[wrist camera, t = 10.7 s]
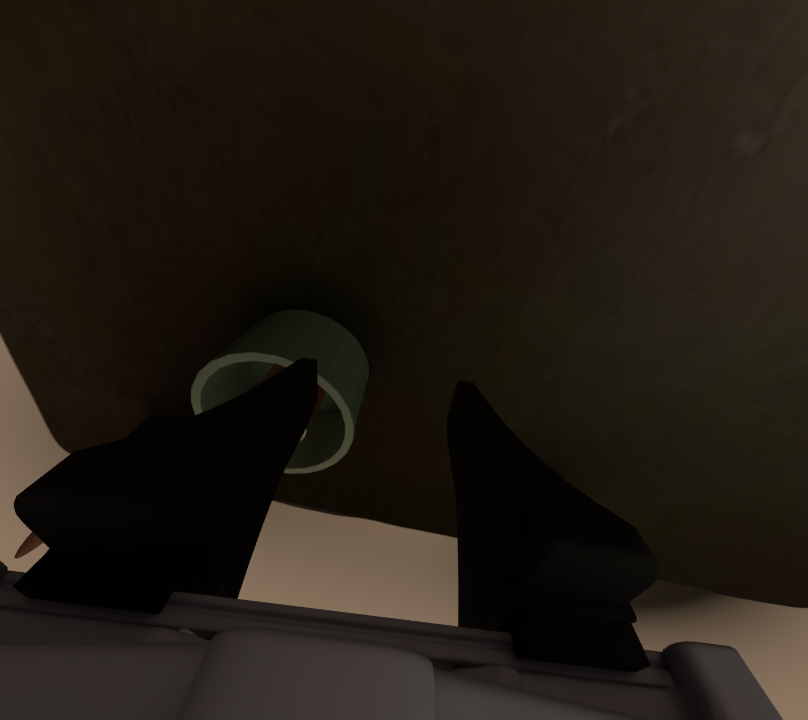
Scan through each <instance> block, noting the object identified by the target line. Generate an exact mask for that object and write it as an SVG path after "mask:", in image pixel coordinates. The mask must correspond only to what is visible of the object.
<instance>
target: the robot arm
mask: <svg viewBox="0 0 808 720" xmlns="http://www.w3.org/2000/svg"><path fill="white" fill-rule="evenodd" d="M317 401H318V376H317V360H315V359H309V358H300V359H299V360H297V361H296V362H294V363H292V364H291V365H289V366H288V367H286V368H285V369H283V370H282V371H280V372H278V373H277V374H275V375H274V376H272V377H270V378H269V379H267V380H266V381H264V382H262V383H261V384H259V385H257V386H255V387H253V388H252V389H250V390H248V391H246V392H244V393H243V394H241V395H239V396H237V397H235V398H233V399H231V400H229V401H227V402H225V403H223V404H220V405H218V406H216V407H214V408H212V409H209V410H207V411H205V412H202V413H199V414H197V415H194V416H192V417H189V418H186V419H184V420H181V421H179V422H176V423H173V424H170V425H167V426H164V427H161V428H158V429H155V430H152V431H149V432H145V433H142V434H139V435H136V436H132V437H129V438H125V439H121V440H117V441H113V442H110V443H106V444H102V445H98V446H94V447H90V448H86V449H82V450H78V451H74V452H73V453H72V454H70V455H69V456H68V457H66V458H65V459H64V460H63V461H61V462H60V463H59V464H58V465H56V466H55V467H53V468H52V469H51V470H50V471H48V472H47V473H46V474H44V475H43V476H42V477H40V478H39V479H38V480H37V481H35V482H34V483H33V484H31V485H30V486H29V487H27V488H26V489H25V490H24V491H22V492H21V493H20V494H19V495H17V496H16V499H15V501H14V509H15V512H16V514H17V516H18V517H19V518H20V519H21V521H22V522H23V523H24V524H25V525H26V526H27V527H28V528H29V529H30V530H31V531H32V532H33V533H34V534H35V535H36V536H37V537H38V538H39V539H40V540H41V541H42V542H44V543H45V544H46V545H47V546H48V547H49V548H50V550H49V551H48V552H47V553H46V554H45V555H44V556H43V557H42V558H41V559H40V560H39V561H38V562H37V563H35V565H33V567H31V568H30V570H28V572H26V573H24V572H17V571H8V570H7V566H5V565H4V563H2V562H1V561H0V720H783V719H782V717H781V716H780V714H779V713H778V711H777V710H776V708H775V707H774V706H773V704H772V703H771V701H770V700H769V698H768V697H767V695H766V694H765V692H764V691H763V689H762V688H761V686H760V685H759V683H758V682H757V680H756V679H755V677H754V676H753V674H752V673H751V671H750V670H749V668H748V667H747V665H746V664H745V662H744V661H743V659H742V658H741V656H740V655H739V653H738V652H737V650H736V649H734V648H732V647H730V646H723V645H716V644H708V643H700V642H686V641H685V642H677V643H674V644H672V645H669V646H668V647H666V648H665V649H663V651H662V652H658V651H650V650H644V649H643V647H642V645H641V643H640V641H639V638H638V636H637V634H636V632H635V630H634V628H633V626H632V624H631V623H634V622H636V621H637V619H636V618H637V617H636V615H635V613H634V611H633V609H632V607H631V605H630V603H629V602H630V601H631V600H633V599H634V598H635V597H637V596H638V595H639V594H641V593H642V592H644V591H645V590H646V589H648V588H649V587H650V586H651V585H652V584H653V583H654V582H655V581H656V580H657V578H658V575H659V572H660V569H659V564H658V563H657V561H656V559H655V558H654V556H653V555H652V553H651V551H650V550H649V548H648V546H647V545H646V543H645V542H644V540H643V538H642V537H641V535H640V534H639V532H638V530H637V529H636V527H634V526H633V525H631V524H629V523H628V522H626V521H625V520H623V519H622V518H620V517H618V516H617V515H615V514H614V513H612V512H611V511H609V510H607V509H606V508H604V507H603V506H601V505H600V504H598V503H597V502H595V501H594V500H592V499H591V498H589V497H588V496H587V495H585V494H584V493H582V492H581V491H580V490H578V489H577V488H575V487H574V486H573V485H571V484H570V483H569V482H568V481H567V480H566V479H563V478H562V477H561V476H560V475H559V474H557V473H556V472H555V471H554V470H552V469H551V468H550V467H549V466H548V465H546V464H545V463H544V462H543V461H542V460H541V459H539V458H538V457H537V456H536V455H535V454H534V453H533V452H532V451H531V450H530V449H529V448H528V447H527V446H526V445H525V444H524V443H523V442H522V441H521V440H520V439H519V438H518V437H517V436H516V435H515V434H514V433H513V432H512V431H511V430H510V429H509V428H508V426H507V425H506V424H505V423H504V422H503V421H502V419H501V418H500V417H499V416H498V415H497V413H496V412H495V411H494V410H493V408H492V407H491V406H490V405H489V403H488V402H487V401H486V399H485V398H484V397H483V395H482V394H481V393H480V391H479V390H478V389H477V387H476V386H475V385H474V383H471V382H464V381H458V383H457V386H456V390H455V393H454V396H453V400H452V403H451V406H450V410H449V413H448V417H447V440H448V447H449V454H450V461H451V468H452V474H453V481H454V488H455V497H456V512H457V537H458V587H459V588H458V589H459V590H458V591H459V592H458V594H459V595H458V598H459V599H458V602H459V603H458V626H450V625H441V624H433V623H425V622H418V621H410V620H401V619H394V618H386V617H377V616H369V615H362V614H353V613H345V612H337V611H329V610H321V609H313V608H305V607H296V606H289V605H281V604H273V603H265V602H257V601H249V600H241V599H238V595H239V592H240V589H241V586H242V583H243V580H244V577H245V574H246V571H247V568H248V565H249V562H250V559H251V557H252V553H253V551H254V548H255V545H256V542H257V540H258V537H259V534H260V531H261V528H262V526H263V523H264V520H265V518H266V515H267V512H268V510H269V507H270V505H271V502H272V499H273V497H274V494H275V492H276V489H277V487H278V484H279V482H280V479H281V477H282V475H283V473H284V471H285V468H286V466H287V464H288V463H289V461H290V459H291V457H292V455H293V453H294V451H295V449H296V447H297V445H298V443H299V442H300V440H301V438H302V436H303V434H304V432H305V430H306V428H307V426H308V424H309V422H310V420H311V417H312V415H313V412H314V409H315V406H316V404H317Z"/></svg>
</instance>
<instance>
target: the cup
mask: <svg viewBox="0 0 808 720" xmlns="http://www.w3.org/2000/svg"><path fill="white" fill-rule="evenodd" d="M300 358H309V359H315V360H317V376H318V385H320V386H321V387H322V388H323V389H324V390H325V391H326V393H325V395H324V397H323V400H322V402H321V404H320V406H319V408H318V410H317V412H316V415H315V417H314V419H313V421H312V423H311V425H310V427H309V429H308V431H307V433H306V436H305V437H304V439H302V440H301V441H300V442H299V443H298V445H297V447H296V449H295V451H294V453H293V455H292V457H291V459H290V461H289V463H288V464H287V466H286V468H285V471H284V473H291V474H293V473H310V472H314V471H319V470H323V469H325V468H327V467H329V466H331V465H333V464H335V463H336V462H338V461H339V460H340V459H341V458H342V457H343V456H344V455H345V454H346V453H347V452H348V450H349V448H350V446H351V444H352V442H353V439H354V435H355V432H356V428H357V424H358V420H359V417H360V413H361V409H362V406H363V402H364V398H365V395H366V391H367V387H368V381H369V365H368V361H367V357H366V355H365V352H364V350H363V348H362V347H361V345H360V344H359V342H358V341H357V340H356V338H355V337H354V336H353V335H352V334H351V333H350V332H349V331H348V330H347V329H346V328H344V327H343V326H342V325H341V324H339V323H338V322H336V321H334V320H333V319H331V318H328V317H326V316H324V315H322V314H319V313H316V312H312V311H307V310H298V309H292V310H282V311H277V312H274V313H271V314H269V315H267V316H265V317H263V318H262V319H261V320H259V321H258V322H257V323H255V324H254V325H253V326H252V327H251V328H250V329H248V330H247V331H246V332H245V333H244V334H242V335H241V336H240V337H239V338H238V339H236V340H235V341H234V342H233V343H232V344H230V345H229V346H228V347H227V348H226V349H225V350H223V351H222V352H221V353H220V354H219V355H217V356H216V357H215V358H214V359H213V360H211V361H210V362H209V363H208V364H207V365H206V366H205V367H203V368H202V369H201V370H200V371H199V372H198V374H197V376H196V378H195V380H194V382H193V385H192V387H191V404H192V407H193V410H194V413H195V415H197V414H199V413H202V412H205V411H207V410H209V409H212V408H214V407H216V406H218V405H220V404H223V403H225V402H227V401H229V400H231V399H233V398H235V397H237V396H239V395H241V394H243V393H244V392H246V391H248V390H250V389H252V388H253V387H255V386H257V385H258V384H259V382H260V381H261V380H262V379H263V378H264V376H265V375H266V374H267V373H268V371H269V370H270V369H271V368H272V367H273V365H274V364H278V365H281V366H284V367H288V366H289V365H291V364H292V363H294V362H296V361H297V360H299V359H300Z"/></svg>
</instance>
